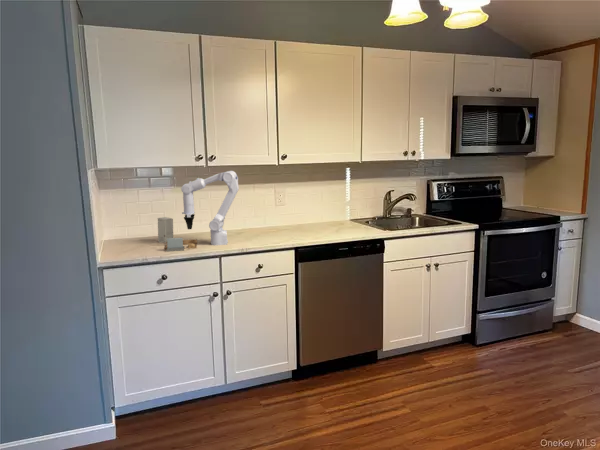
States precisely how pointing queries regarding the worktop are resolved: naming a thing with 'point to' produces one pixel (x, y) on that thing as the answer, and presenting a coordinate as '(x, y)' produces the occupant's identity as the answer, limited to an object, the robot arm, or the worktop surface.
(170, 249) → the holder
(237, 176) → the robot arm
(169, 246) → the grey flat block
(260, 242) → the worktop surface
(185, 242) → the wooden tray
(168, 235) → the skincare box
